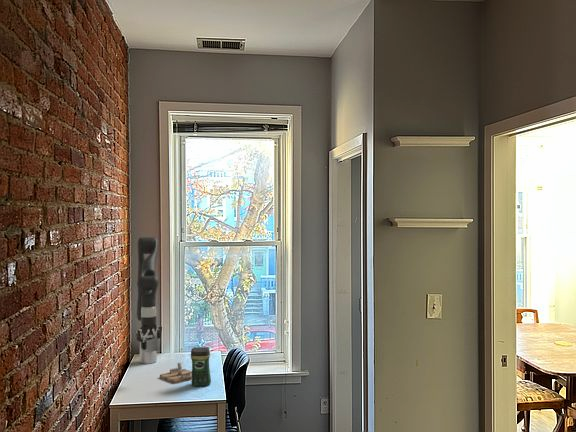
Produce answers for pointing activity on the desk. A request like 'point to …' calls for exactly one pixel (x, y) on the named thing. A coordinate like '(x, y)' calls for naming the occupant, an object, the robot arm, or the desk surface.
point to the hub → (150, 345)
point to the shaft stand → (177, 375)
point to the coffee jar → (200, 366)
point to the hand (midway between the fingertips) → (149, 348)
